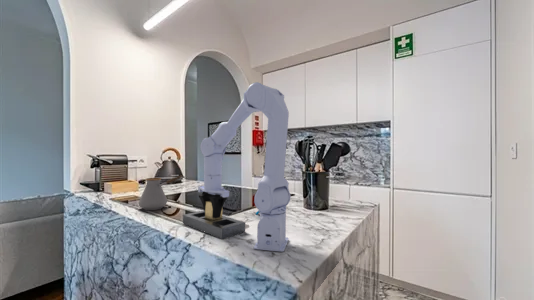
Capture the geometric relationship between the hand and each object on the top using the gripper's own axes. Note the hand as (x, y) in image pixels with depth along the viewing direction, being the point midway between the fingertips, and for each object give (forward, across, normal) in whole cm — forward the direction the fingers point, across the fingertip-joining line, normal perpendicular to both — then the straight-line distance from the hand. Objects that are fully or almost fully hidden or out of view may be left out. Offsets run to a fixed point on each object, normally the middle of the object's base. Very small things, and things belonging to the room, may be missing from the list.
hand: (212, 216), depth 83 cm
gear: (+4, -2, -23) cm, 24 cm away
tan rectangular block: (+2, 0, 0) cm, 2 cm away
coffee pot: (+4, +37, 0) cm, 37 cm away
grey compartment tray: (+4, 0, 0) cm, 4 cm away
